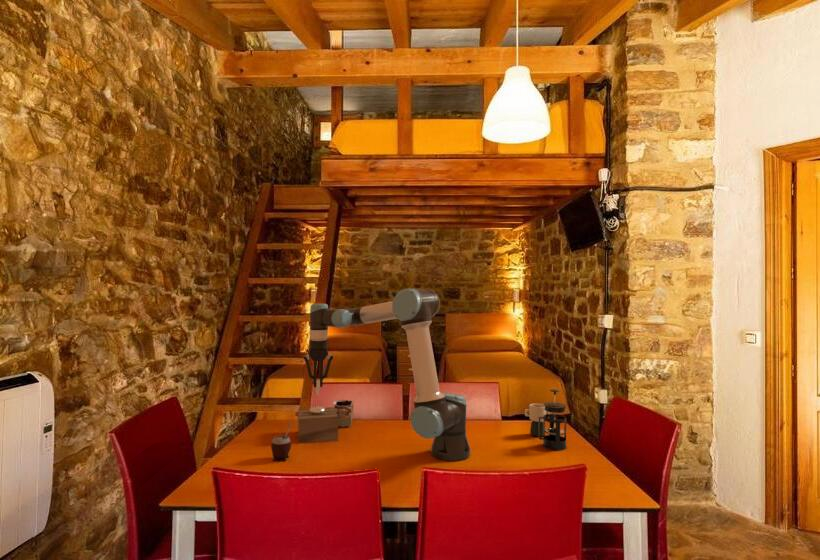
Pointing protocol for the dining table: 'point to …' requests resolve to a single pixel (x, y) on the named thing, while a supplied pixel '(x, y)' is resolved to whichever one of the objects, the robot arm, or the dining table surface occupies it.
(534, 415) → the character mug
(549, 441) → the french press
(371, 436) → the dining table surface
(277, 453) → the mate gourd
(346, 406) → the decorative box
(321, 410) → the steel pin
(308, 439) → the hitch block
